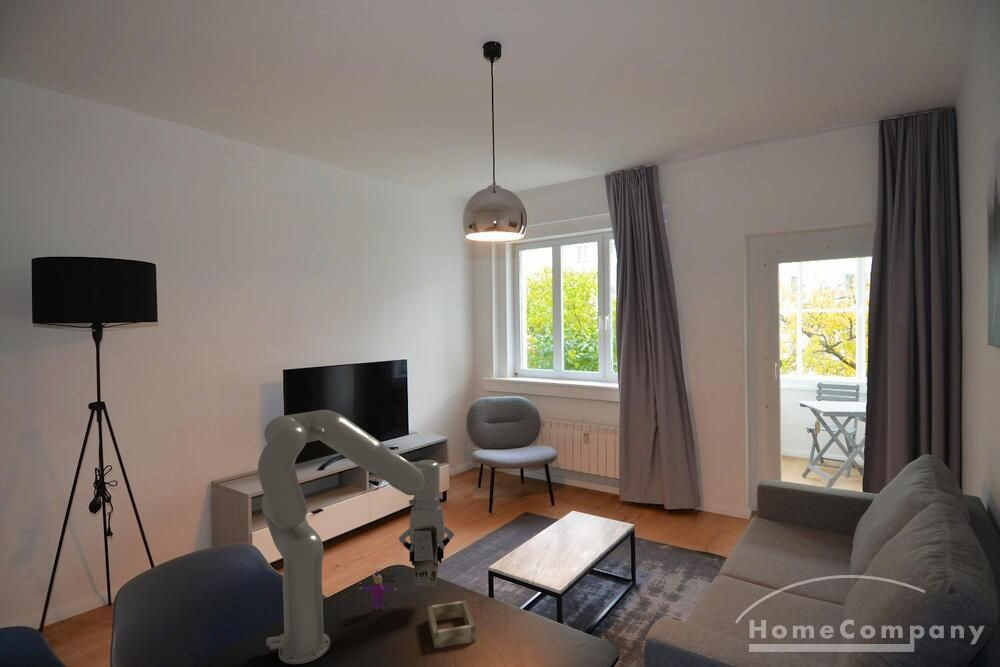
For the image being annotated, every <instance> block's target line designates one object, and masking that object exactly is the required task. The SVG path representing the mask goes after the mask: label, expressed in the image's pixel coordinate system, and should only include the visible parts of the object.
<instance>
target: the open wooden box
mask: <svg viewBox="0 0 1000 667" xmlns="http://www.w3.org/2000/svg"><path fill="white" fill-rule="evenodd" d="M467 602H468V601H467V600H459V601H452V602H446V603H445V602H444V603H439V604H432V605H427V621H428V624H429V630H430V634H431V640H432V644H433V648H434V649H439V648H440V649H441V648H446V647H451V646H457V645H463V644H464V645H465V644H469V643H475V642H477V639H476V637H477V635H476V632H477V631H476V625H475V621H474V619H473V616H472V613H471V610H470V608H469V606H468V603H467ZM458 618H463V623H464V624H465V625H461V626H453V627H447V628H442V629H441V628H440V629H439V628H438V624H437V621H438V622H439V621H444V620H450V619H451V620H452V619H458Z"/></svg>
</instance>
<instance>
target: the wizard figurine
mask: <svg viewBox="0 0 1000 667" xmlns="http://www.w3.org/2000/svg"><path fill="white" fill-rule="evenodd" d="M385 578H386V579H385ZM387 578H388V579H387ZM394 578H395V575H388V576H387V574H386V575H382V576H381V575H380V574H379V573H378V571H377V570H376V571H375V573H374V574H372V579H373V582H374V584H373V585H372V587H369V586H367V587H363V586H362V582H359V590H360V591H361V590H370V594H371V597H372V598H373V599H374V610H376V611H377V610H378V609H379V607H378V600H380V610H381V611H384V609H385V608H384V602H383V600H384V599H383V598H384V597H385V593H386V590H388V591H390V590H393V591H397V590H398V588H397V587H396V586H395V587H385V586H384V585H383V584H382V583H386V582H388V583H394V582H395V579H394Z"/></svg>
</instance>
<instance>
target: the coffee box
mask: <svg viewBox="0 0 1000 667" xmlns="http://www.w3.org/2000/svg"><path fill="white" fill-rule="evenodd" d="M438 546H439V544H438V543H437V528H425V529H419V530H415V539H414V566H413V585H414V587H416V586H417V587H419V586H420V587H422V586H423V587H435V586H436V583H437V579H438V574H439V561H438Z"/></svg>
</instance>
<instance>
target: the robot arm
mask: <svg viewBox="0 0 1000 667" xmlns="http://www.w3.org/2000/svg"><path fill="white" fill-rule="evenodd" d="M263 435H264V439H265V441H266V445H264V448H263V450H262V451H261V453H260V457H259V460H258V462H257V463H258V464H257V475H258V478H259V482H260V487H261V489H262V493H263V496H262V500H261V510H262V513H263V516H264V518H265V522H266V524H267V527H268V530H269V533H270V536H271V538H272V541H273V543H274V545H275V548H276V549H277V551H278V552H279V554H280V556H281V557H282V559H283V574H282V595H283V596H282V597H283V628H284V629H283V630H284V632H283V633H281V634H280V635H278V636H270V637H266V643H265V644H266V647H269V650H270V651H272V650H276V649H278V658H279V659H280V661H282V663H285V664H289V665H301V664H302V665H303V664H306V663H310V662H313V661H315V660H317V659H319V658H321V657H322V656H323V655H325V654H326V653H327V652H328V650H329V649H330V646H331V638H330V636H329V635H328V634H326V633H325V630H324V606H323V605H324V604H323V603H324V600H323V563H324V552H325V551H324V544H323V541H322V539H321V537H320V535H319V534H318V533H317V531H316V530H314V528H313V527H312V526H310V524H309V523H308V520H307V514H308V504H307V501H306V497H305V495H304V492H303V490H302V487H301V485H300V482H299V481H300V480H299V479H298V475H297V470H296V460H297V458H298V456H299V454H300V453H301V452H302V450H303V449H304V447H305V446H306V444H307V443H311V442H317V441H321V443H323V444H324V445H326V446H328V447H329V448H331V449H332V450H334V451H335V452H337V453H339V455H341V456H343V457H344V458H346V459H348V460H349V461H351V462H352V463H353V464H355V465H357V466H358V467H360V468H361V469H363V470H365V471H366V472H369V473H371V474H373V475H376V476H377V477H379V478H381V479H382V480H384V481H385V482H387V483H388V485H390V486H391V487H392V488H394V489H396V490H398V491H399V492H401V493H403V494H404V495H407V496H413V498H412V499H409V500H408V504H409V506H412V508H411V509H410V510H411V511H410V517H409V525H408V527H409V528H407V529H406V530H405V531H404V532H403V533H402V534H400V535H399V537H398V541H399V542H400V543H401V544H402V545H403V547H405V548H406V550H408V551H409V563H411V565H412V566H413V567H414V539H415V530H419V529H425V528H437V543H438V563H440V564H441V563H442V561H443V559H444V551H445V550H444V549H445V548H446V546H447V545H448V544H449V543H450V541H452V540H451V539H453V537H454V536H455V535H454V532H453V531H452V530H451V529H449V528H448V527H447V526H446V525H445V518H444V510H443V507H442V505H440V483H441V482H440V481H441V480H440V477H441V476H440V472H441V470H440V464H439V461H436V460H433V459H422V460H418V461H408V460H407V459H405V458H403V457H402V456H401V455H399V454H398V453H396V452H394V451H393V450H392V449H391V448H389V447H388V446H387V445H385V444H384V443H383V442H381V441H380V440H378V439H376V437H374V436H373V435H371V434H369V433H368V432H367V431H365V430H364V429H362V427H360V426H358V425H356V424H355V423H354V422H352V421H351V420H349V418H347V417H345V415H342V414H341V413H338V412H336V411H333V410H330V409H319V410H313V411H308V412H307V411H306V412H300V413H294V414H287V415H282V416H281V415H280V416H277V417H274V418H273V419H272V420H270V421H269V422H268V423H267V425H266V426H265V429H264V434H263ZM445 535H446V536H445ZM406 538H409V541H410V542H408V541H407V540H406Z"/></svg>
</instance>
